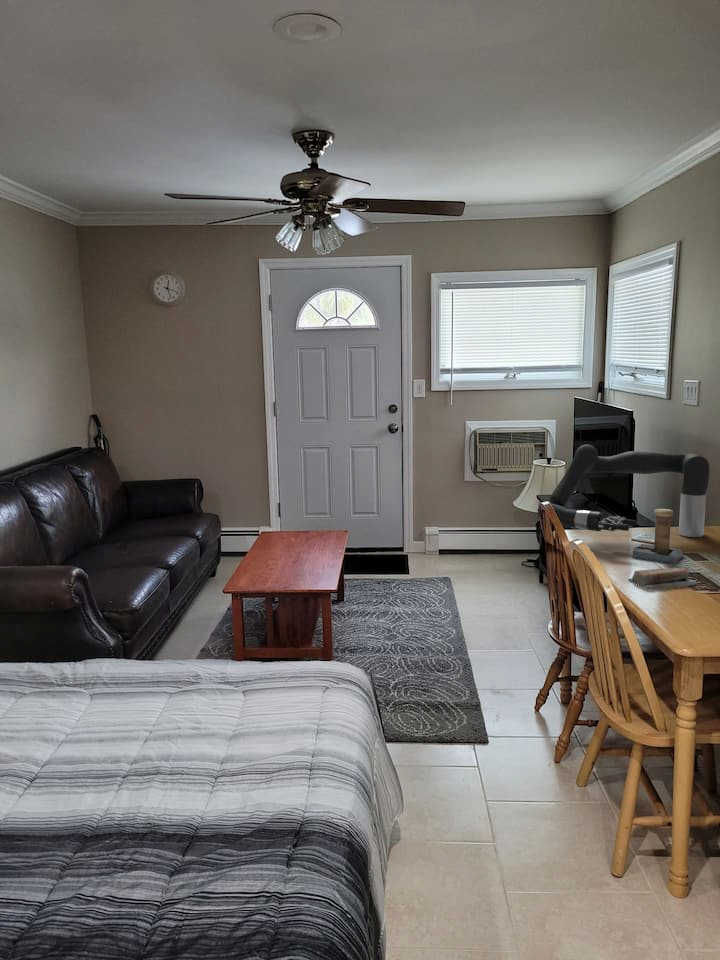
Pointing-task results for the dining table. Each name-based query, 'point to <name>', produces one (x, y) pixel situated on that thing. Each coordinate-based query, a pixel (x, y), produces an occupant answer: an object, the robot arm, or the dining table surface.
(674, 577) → the packaged product
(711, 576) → the dining table surface
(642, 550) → the keyhole plate
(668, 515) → the walnut peg
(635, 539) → the dining table surface
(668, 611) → the dining table surface
